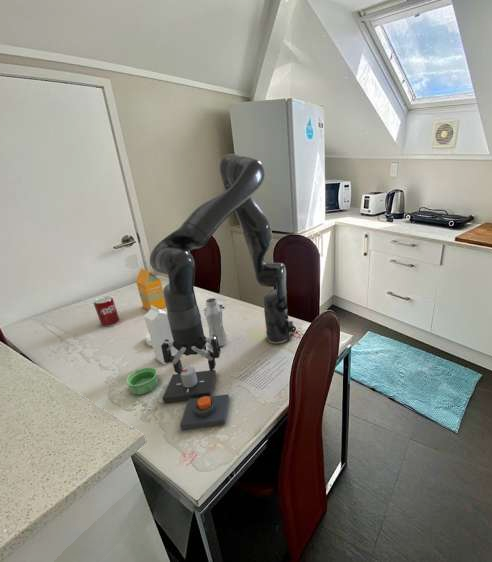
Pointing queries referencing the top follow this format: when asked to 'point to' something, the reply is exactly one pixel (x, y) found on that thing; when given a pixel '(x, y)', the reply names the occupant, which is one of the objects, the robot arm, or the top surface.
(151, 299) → the orange juice
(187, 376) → the brew dial
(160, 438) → the top surface
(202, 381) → the brew base
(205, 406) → the power button
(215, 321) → the plastic bottle
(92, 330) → the top surface
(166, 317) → the milk
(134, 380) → the ramekin
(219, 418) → the button block
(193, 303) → the robot arm
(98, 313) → the soda can
